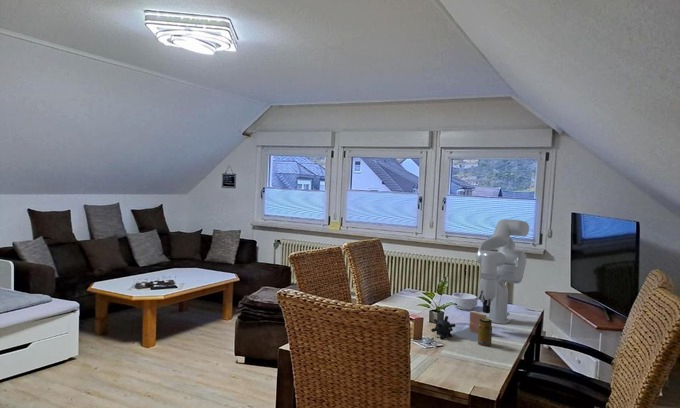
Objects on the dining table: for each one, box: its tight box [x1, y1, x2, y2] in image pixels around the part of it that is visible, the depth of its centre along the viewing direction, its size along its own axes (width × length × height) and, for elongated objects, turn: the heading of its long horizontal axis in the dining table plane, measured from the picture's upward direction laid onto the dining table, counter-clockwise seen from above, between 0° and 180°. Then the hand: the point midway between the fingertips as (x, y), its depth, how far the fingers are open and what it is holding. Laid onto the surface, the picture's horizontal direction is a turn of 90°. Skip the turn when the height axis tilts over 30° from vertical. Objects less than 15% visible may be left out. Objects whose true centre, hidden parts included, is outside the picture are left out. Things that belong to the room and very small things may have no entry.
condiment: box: [477, 318, 493, 347], centre depth 211 cm, size 7×8×12 cm
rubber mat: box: [450, 327, 497, 343], centre depth 227 cm, size 20×14×1 cm
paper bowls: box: [451, 292, 479, 311], centre depth 281 cm, size 15×15×8 cm
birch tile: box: [468, 310, 487, 334], centre depth 229 cm, size 2×8×10 cm, turn 42°
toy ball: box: [431, 315, 457, 340], centre depth 221 cm, size 11×11×12 cm
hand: (486, 312), depth 234 cm, fingers closed
